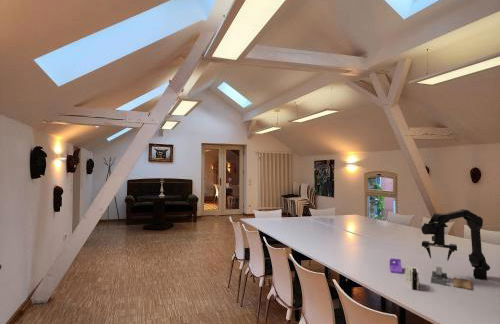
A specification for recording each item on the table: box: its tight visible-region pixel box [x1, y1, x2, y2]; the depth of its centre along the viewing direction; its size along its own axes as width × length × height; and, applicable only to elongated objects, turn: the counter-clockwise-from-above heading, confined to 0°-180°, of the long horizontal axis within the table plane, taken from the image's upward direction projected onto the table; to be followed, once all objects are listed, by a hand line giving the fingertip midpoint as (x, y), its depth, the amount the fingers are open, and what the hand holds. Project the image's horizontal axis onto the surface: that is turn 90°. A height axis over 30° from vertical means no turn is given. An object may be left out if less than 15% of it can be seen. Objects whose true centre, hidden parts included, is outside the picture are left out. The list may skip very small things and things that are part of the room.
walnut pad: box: [452, 277, 473, 291], centre depth 193 cm, size 9×16×1 cm, turn 148°
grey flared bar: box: [435, 266, 443, 279], centre depth 199 cm, size 3×8×8 cm, turn 148°
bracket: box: [389, 257, 403, 275], centre depth 217 cm, size 12×7×7 cm, turn 161°
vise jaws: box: [430, 270, 448, 286], centre depth 199 cm, size 8×16×3 cm, turn 148°
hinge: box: [405, 265, 420, 291], centre depth 189 cm, size 14×5×10 cm, turn 168°
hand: (439, 259), depth 200 cm, fingers open, 9 cm apart
